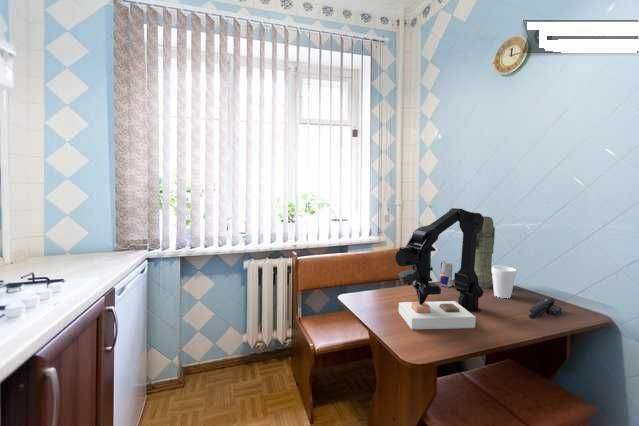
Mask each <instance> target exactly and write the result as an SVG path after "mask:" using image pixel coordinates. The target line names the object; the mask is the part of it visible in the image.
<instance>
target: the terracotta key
mask: <svg viewBox="0 0 639 426" xmlns="http://www.w3.org/2000/svg"><path fill="white" fill-rule="evenodd" d="M411 302H412V309H413V310H414V311H415V312H416V313H430V306H429V305H428V304H427V303H426V302H427V301H426V300H425V301H424V303H423V304H422V305H420V304H419V301H411Z"/></svg>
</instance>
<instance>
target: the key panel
mask: <svg viewBox="0 0 639 426" xmlns="http://www.w3.org/2000/svg"><path fill="white" fill-rule="evenodd" d="M412 302H413V301H402V302H398V314H399V315H400V316H401V318H403V320H404V321H405V323H406V324H407V325H408V327H409V328H410V329H411V330H440V329H441V330H443V329H445V330H446V329H448V330H449V329H475V328H476V318H477V317H476V316H475V315H474V314H472V313H471V311H467V310H466V309H465V308H463V307H462V306H461V305H459V304H458V302H457V301H455V300H454V301H453V300H450V301H448V300H446V301H445V300H444V301H440V300H439V301H425V302H426V303H427V304H428V305H429V306H430V313H416V312H415V311H414V310H413V309H412ZM440 304H454V305H455V306H456V307H457V308H459V312H445V311H444V310H442V309H441V308H440Z"/></svg>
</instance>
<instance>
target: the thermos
mask: <svg viewBox="0 0 639 426" xmlns="http://www.w3.org/2000/svg"><path fill="white" fill-rule="evenodd" d="M482 216H483V217H484V222H483V227H482V230H481V231H480V232H479V233H478V235H477V243H476V256H475V269H474V271H475V273H476V275H477V277H478V285H479V286H480V287H481V289H484V288H488V289H491V288H492V284H493V277H492V261H493V254H494V246H495V238H496V237H495V233H496V228H495V226H494V221H493V220H494V219H493V218H492V217H490V216H484V215H482ZM490 287H491V288H490Z"/></svg>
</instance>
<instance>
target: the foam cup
mask: <svg viewBox="0 0 639 426" xmlns="http://www.w3.org/2000/svg"><path fill="white" fill-rule="evenodd" d="M517 270H518V269H516V268H515V267H510V266H506V265H493V266H492V265H491V272H492V285H493V288H492V289H493V295H494V297H496V296H497V298H499V297H500V298H499V299H503V298H507V300H508V298H509V299H510V297H511V296H512V293H513V288H514V285H515V281H516V280H515V279H516V276H517Z"/></svg>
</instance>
